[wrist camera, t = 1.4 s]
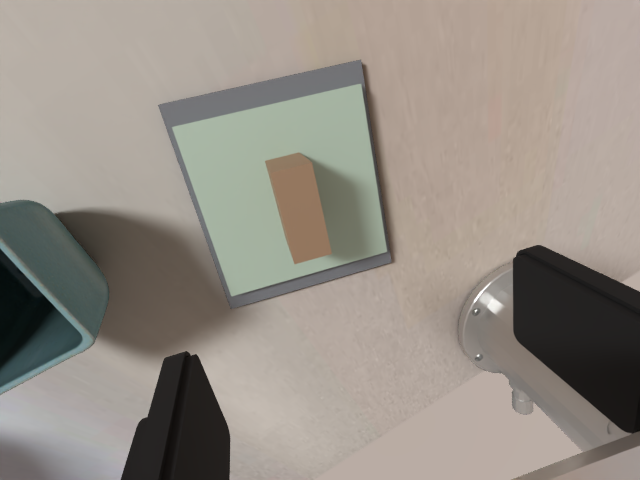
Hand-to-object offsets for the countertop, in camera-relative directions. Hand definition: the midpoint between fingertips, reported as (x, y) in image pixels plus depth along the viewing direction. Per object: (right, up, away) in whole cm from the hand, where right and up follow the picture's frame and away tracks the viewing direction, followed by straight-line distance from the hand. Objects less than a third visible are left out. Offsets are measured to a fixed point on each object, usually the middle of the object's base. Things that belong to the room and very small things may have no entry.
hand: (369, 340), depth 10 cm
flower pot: (-21, +2, +16) cm, 27 cm away
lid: (-4, +6, +17) cm, 19 cm away
